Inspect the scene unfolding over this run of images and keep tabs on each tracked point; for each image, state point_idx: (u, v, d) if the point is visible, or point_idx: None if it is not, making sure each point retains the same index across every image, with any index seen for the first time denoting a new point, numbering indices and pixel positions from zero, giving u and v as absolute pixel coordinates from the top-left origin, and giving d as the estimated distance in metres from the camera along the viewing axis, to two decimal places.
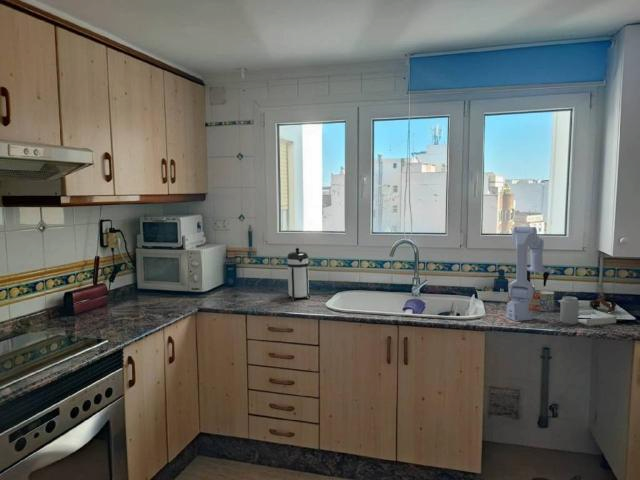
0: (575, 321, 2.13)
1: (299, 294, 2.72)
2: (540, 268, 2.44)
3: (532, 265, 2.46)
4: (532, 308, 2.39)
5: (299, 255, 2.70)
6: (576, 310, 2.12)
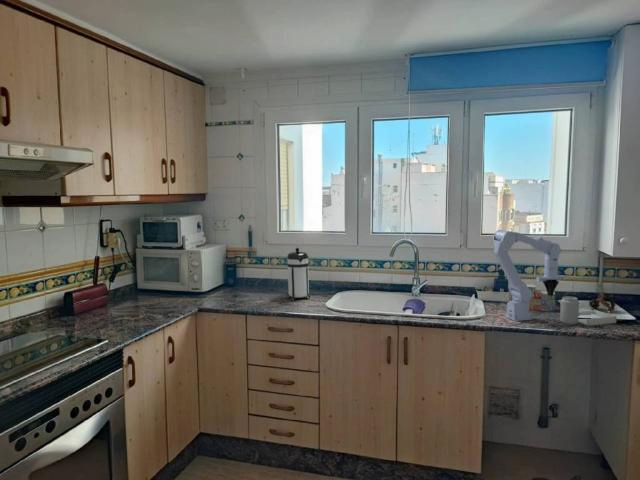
0: (575, 321, 2.13)
1: (299, 294, 2.72)
2: (557, 275, 2.25)
3: (551, 272, 2.23)
4: (533, 308, 2.39)
5: (299, 255, 2.70)
6: (576, 310, 2.12)
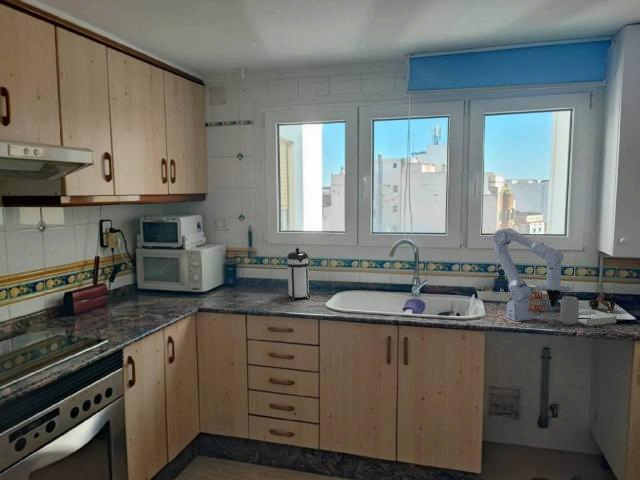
0: (575, 321, 2.13)
1: (299, 294, 2.72)
2: (559, 286, 2.10)
3: (550, 282, 2.11)
4: (533, 308, 2.39)
5: (299, 255, 2.70)
6: (576, 310, 2.12)
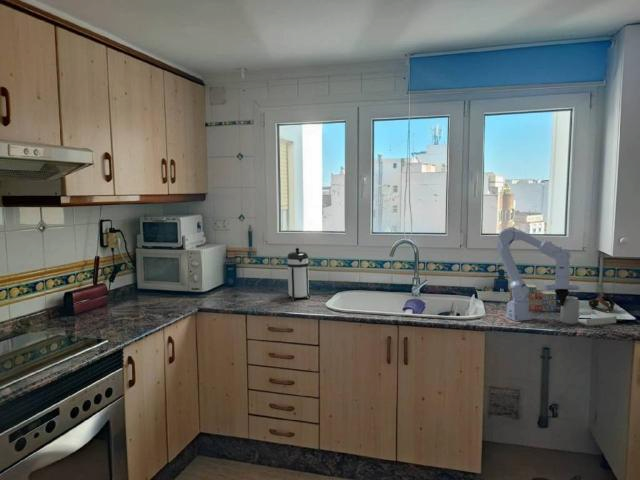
0: (575, 321, 2.13)
1: (299, 294, 2.72)
2: (568, 284, 2.11)
3: (561, 281, 2.11)
4: (534, 308, 2.39)
5: (299, 255, 2.70)
6: (576, 310, 2.12)
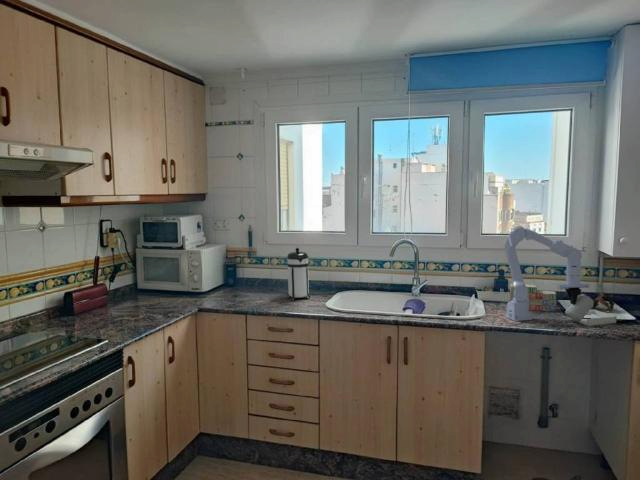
0: (580, 317, 2.13)
1: (299, 294, 2.72)
2: (580, 283, 2.13)
3: (573, 280, 2.12)
4: (534, 308, 2.39)
5: (299, 255, 2.70)
6: (587, 309, 2.13)
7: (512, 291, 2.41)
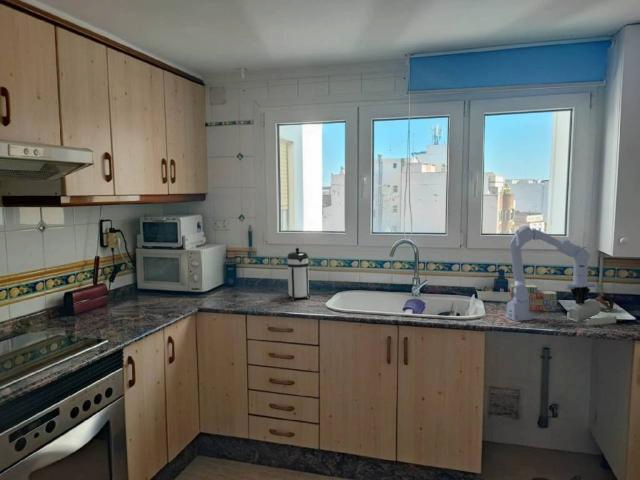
0: (583, 316, 2.13)
1: (299, 294, 2.72)
2: None
3: (581, 280, 2.13)
4: (535, 308, 2.38)
5: (299, 255, 2.70)
6: (593, 313, 2.14)
7: (513, 291, 2.41)
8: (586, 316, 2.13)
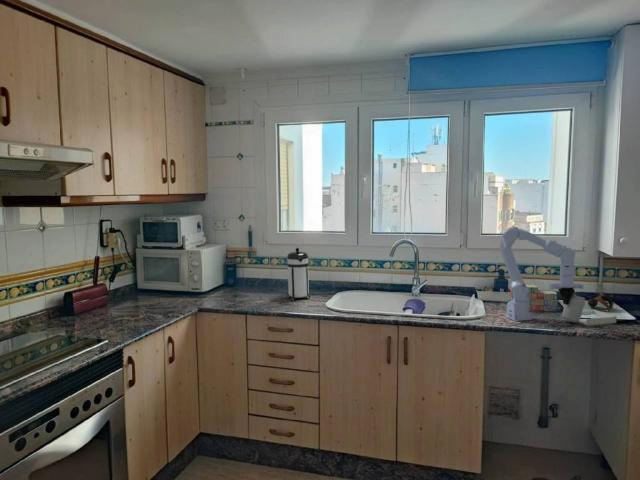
0: (577, 319, 2.13)
1: (299, 294, 2.72)
2: (573, 283, 2.12)
3: (566, 280, 2.11)
4: (536, 308, 2.38)
5: (299, 255, 2.70)
6: (581, 309, 2.12)
7: None
8: (579, 316, 2.13)
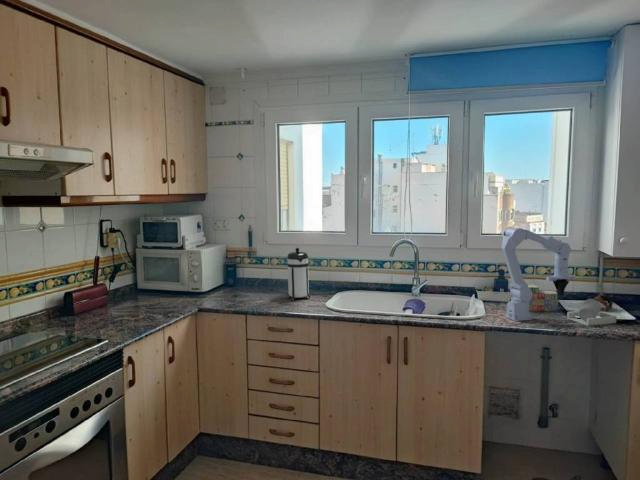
0: None
1: (299, 294, 2.72)
2: None
3: (561, 272, 2.23)
4: (536, 309, 2.38)
5: (299, 255, 2.70)
6: None
7: None
8: None
